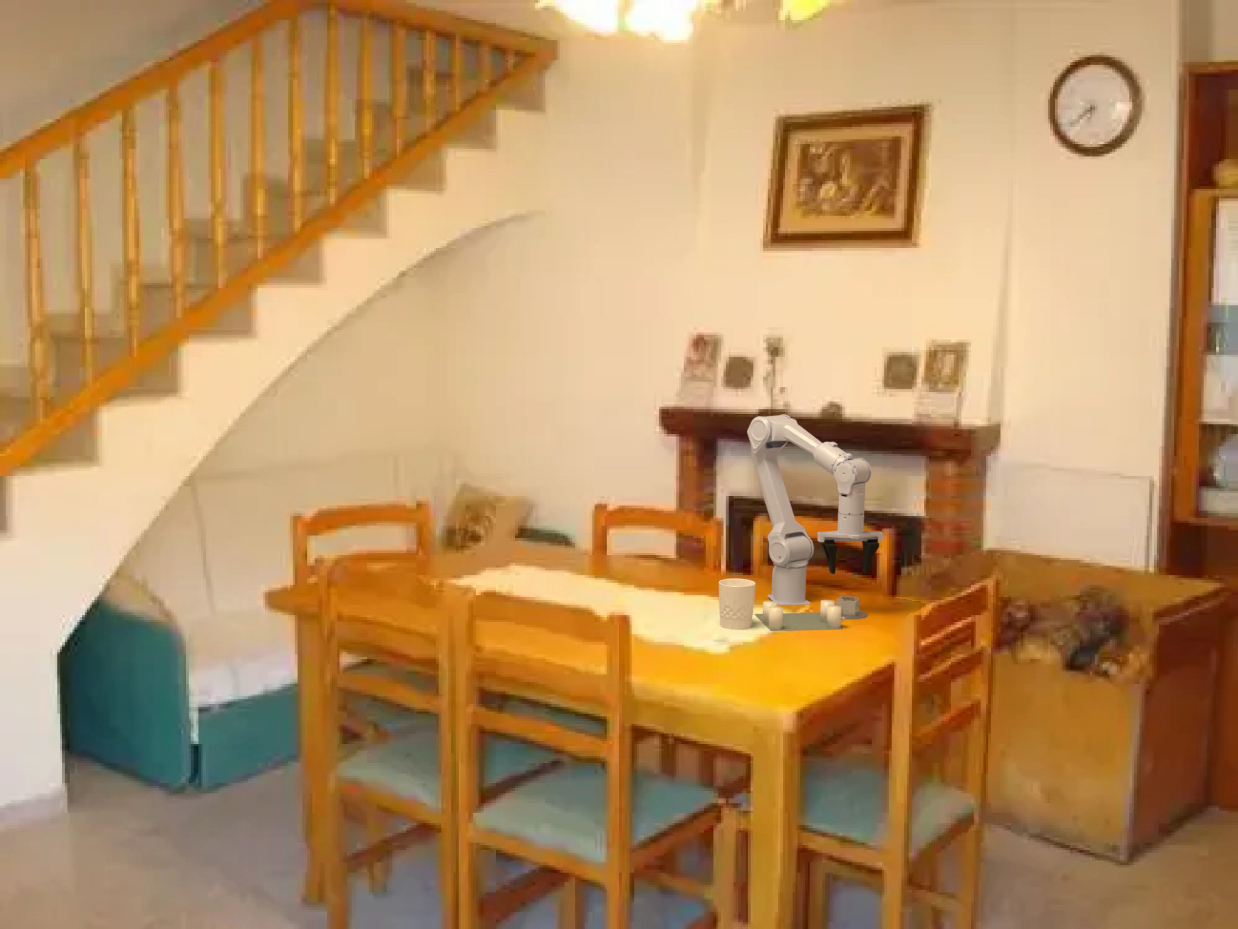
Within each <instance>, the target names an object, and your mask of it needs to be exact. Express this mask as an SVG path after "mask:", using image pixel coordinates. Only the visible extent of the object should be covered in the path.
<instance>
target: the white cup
mask: <svg viewBox="0 0 1238 929" xmlns="http://www.w3.org/2000/svg"><path fill="white" fill-rule="evenodd" d="M755 594H756V582H755V581H753V580H750V579H746V578H725V579H721V580H719V581H718V604H719V606H718V607H719V616H720V617H719V619H720V620H719V625H720V627H721V628H723V629H727V630H731V631H732V630H735V631H736V630H738V631H740V630H743V631H744V630H748V629H751V628H752V624H753V614H754V606H755Z"/></svg>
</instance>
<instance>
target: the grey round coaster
mask: <svg viewBox="0 0 1238 929" xmlns="http://www.w3.org/2000/svg"><path fill="white" fill-rule="evenodd" d="M867 617H868V613H867V612H865V611H863V610H860V614H859V615H857V616H842V615H841V620H861V619H865V618H867Z"/></svg>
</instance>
